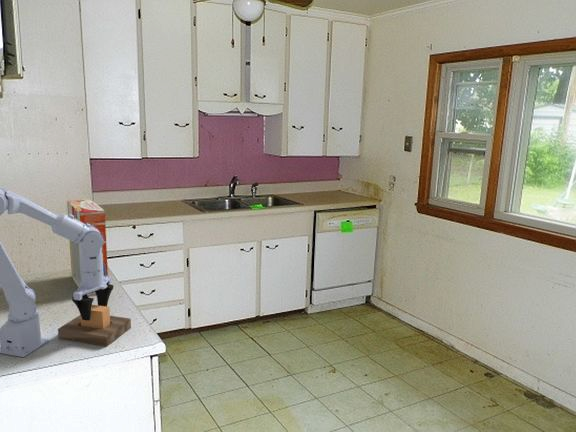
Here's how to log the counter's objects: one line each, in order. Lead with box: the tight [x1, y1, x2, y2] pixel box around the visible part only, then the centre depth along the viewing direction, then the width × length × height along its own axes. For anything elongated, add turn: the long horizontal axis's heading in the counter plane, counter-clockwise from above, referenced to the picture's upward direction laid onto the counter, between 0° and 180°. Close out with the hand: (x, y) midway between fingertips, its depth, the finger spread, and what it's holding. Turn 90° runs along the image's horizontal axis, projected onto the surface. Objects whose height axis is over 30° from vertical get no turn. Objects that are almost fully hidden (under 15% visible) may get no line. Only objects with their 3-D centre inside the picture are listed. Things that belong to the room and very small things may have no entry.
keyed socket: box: [57, 314, 132, 348], centre depth 135 cm, size 12×16×3 cm
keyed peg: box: [81, 304, 111, 329], centre depth 134 cm, size 4×7×8 cm, turn 79°
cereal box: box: [66, 198, 109, 297], centre depth 168 cm, size 23×8×30 cm, turn 35°
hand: (94, 314), depth 134 cm, fingers open, 7 cm apart
